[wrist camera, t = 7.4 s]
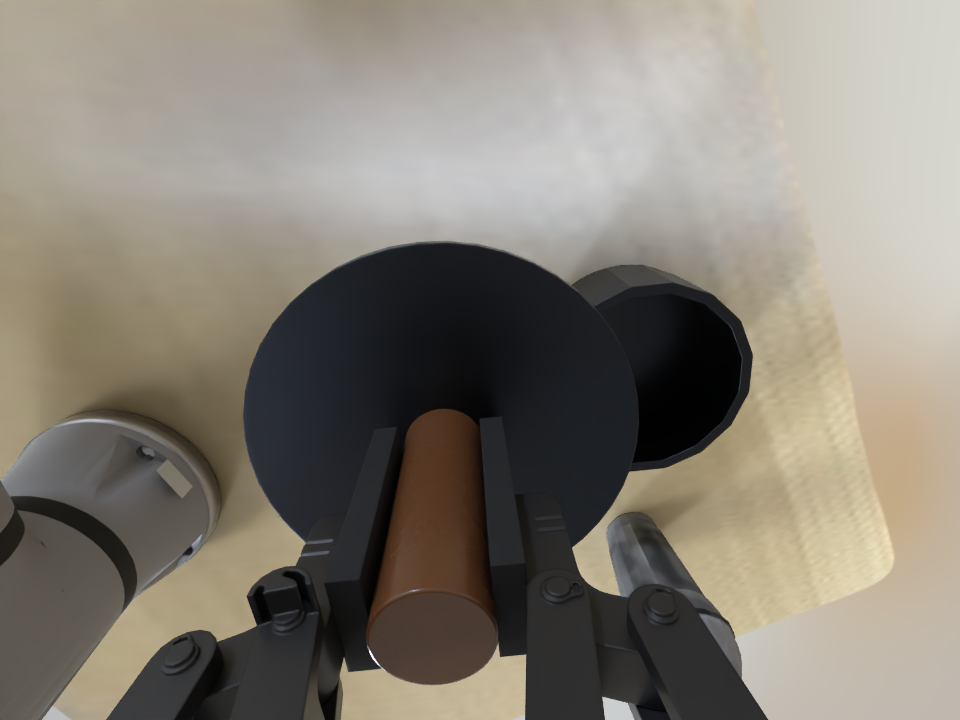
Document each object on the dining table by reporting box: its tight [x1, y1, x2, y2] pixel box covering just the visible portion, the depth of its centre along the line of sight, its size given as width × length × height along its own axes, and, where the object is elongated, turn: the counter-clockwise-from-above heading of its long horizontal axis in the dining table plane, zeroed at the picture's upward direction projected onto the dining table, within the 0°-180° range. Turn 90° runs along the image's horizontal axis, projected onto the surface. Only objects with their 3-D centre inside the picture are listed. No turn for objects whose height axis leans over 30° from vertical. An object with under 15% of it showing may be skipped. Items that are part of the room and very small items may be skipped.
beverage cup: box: [606, 512, 742, 678], centre depth 35 cm, size 7×7×20 cm
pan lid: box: [243, 241, 639, 685], centre depth 14 cm, size 14×14×9 cm
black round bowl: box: [572, 265, 753, 472], centre depth 35 cm, size 13×13×6 cm
